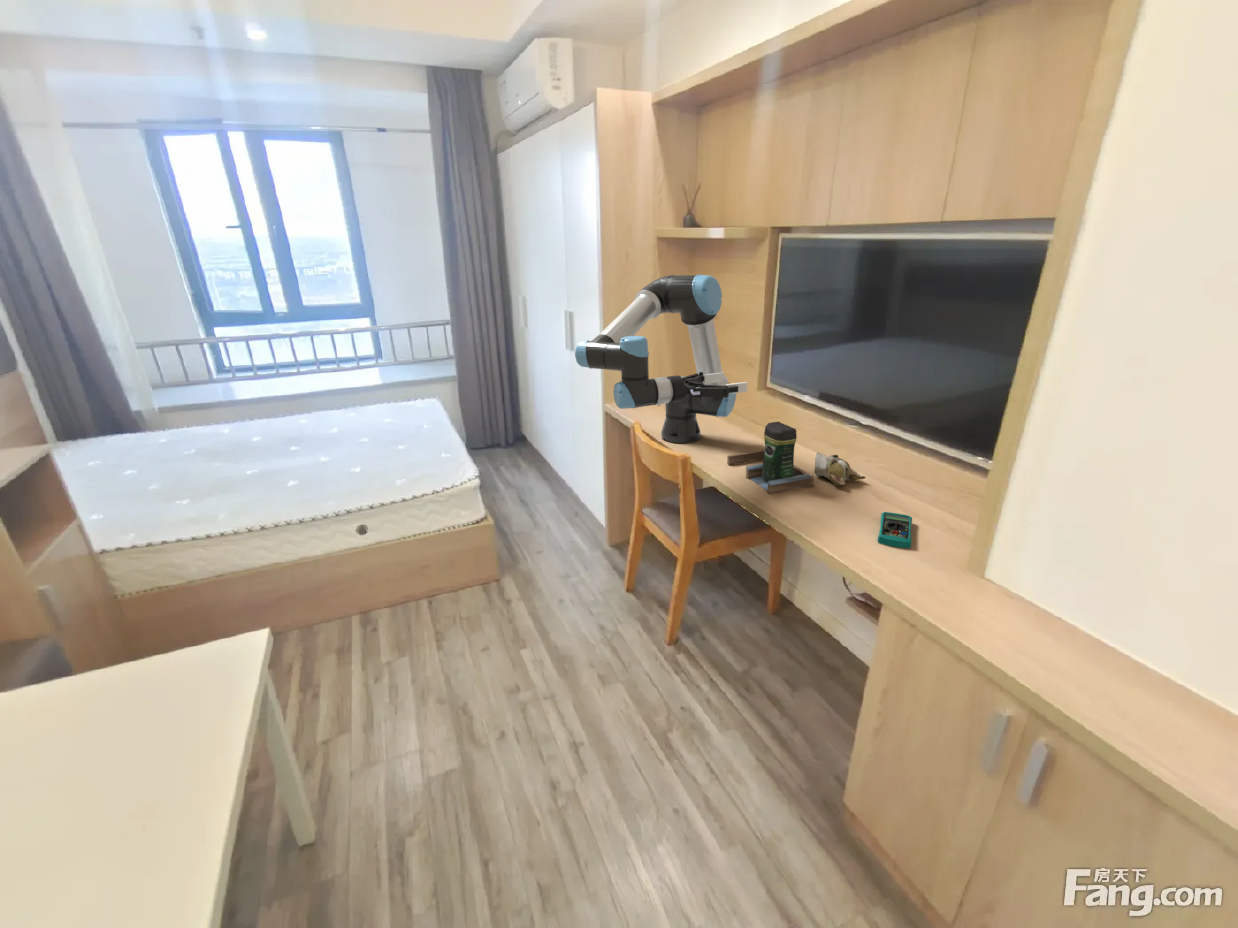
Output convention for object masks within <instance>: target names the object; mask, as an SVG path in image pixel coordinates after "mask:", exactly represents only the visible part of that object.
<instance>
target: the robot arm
mask: <svg viewBox="0 0 1238 928" xmlns="http://www.w3.org/2000/svg"><path fill="white" fill-rule="evenodd" d="M722 298H723V293H722V289H721V286H720V283H719V281H718V279H717V278H715V277H714V276H711V275H704V274H696V275H695V274H688V275H687V274H682V275H681V274H676V275H675V274H670V275H664V276H661V277H659V278H657V279H655V280H653V281H651V282H649V283H648V284H647V285H646V286H644V287H642V289H640V290H639V291H638V292H636V294H635V296H634V299H633V301H632V302H631V303H630V304H629V305H628V306H627V307H626V308H625V309H623V310H622V311H621V313H620V314H618V315H617V316H616V317H615V318H614V319H613V320H612V321H611V322H610V323H609V324H608V325H607V326H606V327H605V328H604V329H603V330H601V332H600V333H599V334H597V335H596V337H595V338H593V339H592V340H582V341H580V342H578V344H577V345H576V347H575V349H574V358H575V361H576V363H577V365H579V366H580V367H582V368H588V369H594V370H595V369H597V370H606V371H608V370H609V371H619V372H620V373H621V380H620V381H619V382H616V383H615V384H614V386H613V390H612V391H613V399H614V403H615V406H617V408H619V409H621V410H622V409H625V410H627V409H636V408H642V407H643V408H645V407H650V406H657V407H660V406H661V405H665V418H664V422H663V424H662V428H661V431H660V433H661V434H660V437H661V436H662V438H663V439H665V440H666V441H665V440H664V441H665V442H668V441H669V443H673V442H676V443H675V444H687V442H688V443H693V442H696V441H698V440H700V438H701V429H700V427H699V423H698V420H697V419H698V418H697V415H703V416H711V417H717V418H718V417H719V418H726V417H728V416H729V415H731V413H732V411H733V409H734V407H735V404H736V403H735V402H736V399H737V394H740V393H747V392H748V382H747V381H744V382H743V381H742V382H733V383H729V379H728V377H727V376H726V374H725V372H723V368H722V362H721V357H720V351H719V345H718V338H717V333H716V327H715V321H714V320H715V318H716V317H717V315H718V313H719V311H720V310H721V307H722ZM666 313H667V314H669V313H670V314H679V315H680V319H681V323H683V324H684V325H685V326H686V327H687V330H688V334H689V340H690V345H691V349H692V355H693V360H694V364H695V368H696V370H695V371H696V373H692V374H689V375H687V376H681V375H669V376H659V377H653V378H650V377H649V374H650V373H649V355H650V353H649V348H648V347H649V346H648V339H647V338H646V337H645V336H643V335H636V334H637V333H638V332H639V331H640V330H641V329H643V327H644V326H645V325H646V324H647V323H648V322H649V321H650V320H652V319H655V318H657V317H658V316H659V315H661V314H666ZM662 438H661V439H662ZM663 439H662V440H663ZM692 441H693V442H692Z"/></svg>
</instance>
